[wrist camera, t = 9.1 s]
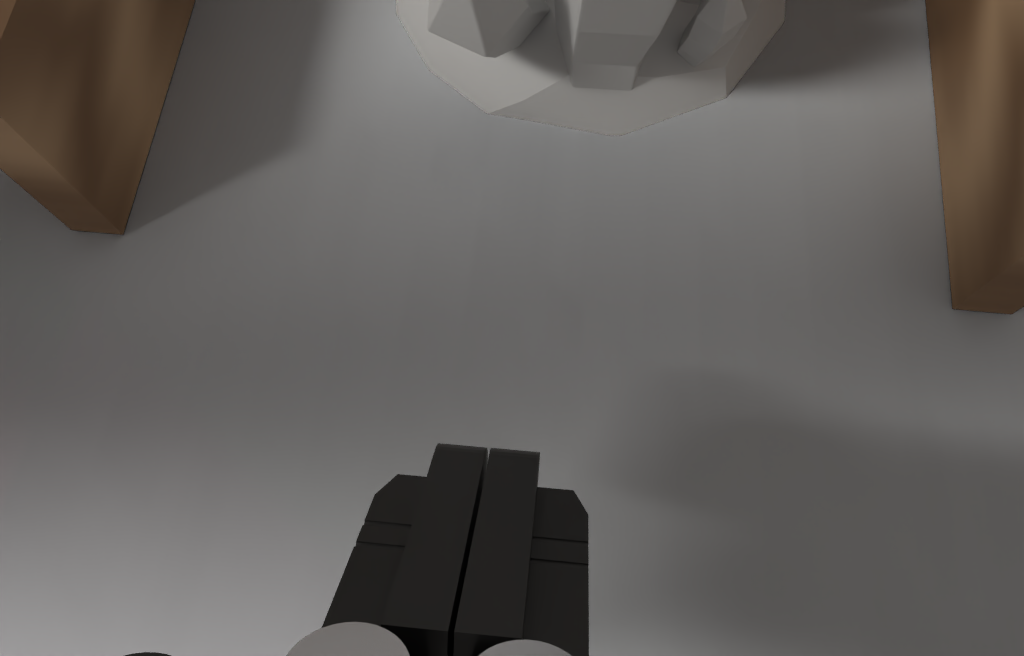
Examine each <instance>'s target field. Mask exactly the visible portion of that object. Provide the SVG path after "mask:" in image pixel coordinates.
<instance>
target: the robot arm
mask: <svg viewBox="0 0 1024 656" xmlns="http://www.w3.org/2000/svg"><path fill="white" fill-rule="evenodd" d="M539 460H540V452H530V451H519V450H508V449H497V448H491V450H490V454H489V459H488V450H487V448H484V447H473V446H462V445H451V444H440V443H438V444H437V446H436V449H435V452H434V455H433V458H432V462H431V465H430V468H429V471H428V474H427V477H421V476H411V475H400V474H398V475H397V476H395V477H394V478H393V479H392V480H391V481H390V482H389V483H388V484H386V485H385V486H384V487H383V488H382V489H381V490H380V491H379V492H377V493H376V494H375V496H374V498H373V501H372V503H371V506H370V508H369V511H368V513H367V516H366V518H365V523H364V525H363V526H362V528H361V531H360V533H359V536H358V538H357V541H356V547H354V548H353V551H352V553H351V556H350V558H349V561H348V563H347V566H346V568H345V571H344V573H343V576H342V578H341V581H340V583H339V586H338V588H337V591H336V593H335V596H334V598H333V601H332V603H331V606H330V608H329V611H328V613H327V616H326V618H325V621H324V623H323V626H322V628H321V629H319V630H316V631H314V632H312V633H311V634H309V635H308V636H306V637H304V638H303V639H302V640H301V641H299V642H298V643H297V644H296V645H295V646H294V647H293V648H292V649H291V650H290V651H289V653H288V654H287V656H589V605H588V514H587V512H586V510H585V509H584V507H583V505H582V504H581V502H580V500H579V499H578V497H577V495H576V494H575V492H574V491H573V490H562V489H551V488H541V487H537V485H538V473H539ZM125 656H170V655H167V654H162V653H150V652H144V653H135V654H130V655H125Z"/></svg>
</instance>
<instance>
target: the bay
mask: <svg viewBox="0 0 1024 656" xmlns="http://www.w3.org/2000/svg"><path fill="white" fill-rule="evenodd" d="M925 2H926V13H927V24H928V36H929V47H930V58H931V70H932V81H933V92H934V103H935V115H936V126H937V137H938V149H939V160H940V171H941V182H942V194H943V205H944V216H945V228H946V239H947V250H948V261H949V273H950V284H951V295H952V307H953V309H959V310H970V311H982V312H993V313H1004V314H1013V313H1014V312H1016V311H1017V310H1019V309H1020V308H1022V307H1024V0H925ZM194 3H195V0H0V169H1V170H2V171H4V172H5V173H6V174H7V175H8V176H9V177H10V178H12V179H13V180H14V181H15V182H16V183H17V184H19V185H20V186H21V187H22V188H23V189H24V190H26V191H27V192H28V193H29V194H30V195H31V196H33V197H34V198H35V199H36V200H37V201H38V202H39V203H41V204H42V205H43V206H44V207H45V208H46V209H48V210H49V211H50V212H51V213H52V214H53V215H55V216H56V217H57V218H58V219H59V220H60V221H62V222H63V223H64V224H65V225H66V226H67V227H68V228H70V229H71V230H77V231H89V232H100V233H111V234H122V235H123V234H124V230H125V227H126V224H127V221H128V217H129V214H130V211H131V208H132V204H133V201H134V198H135V195H136V191H137V188H138V185H139V182H140V178H141V175H142V172H143V169H144V165H145V162H146V159H147V156H148V152H149V149H150V146H151V143H152V139H153V136H154V133H155V130H156V126H157V123H158V120H159V117H160V113H161V110H162V107H163V104H164V100H165V97H166V94H167V91H168V87H169V84H170V81H171V78H172V74H173V71H174V68H175V65H176V61H177V58H178V55H179V52H180V48H181V45H182V42H183V38H184V35H185V32H186V29H187V25H188V22H189V19H190V16H191V12H192V9H193V6H194Z"/></svg>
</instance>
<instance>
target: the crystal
mask: <svg viewBox="0 0 1024 656" xmlns="http://www.w3.org/2000/svg"><path fill="white" fill-rule="evenodd" d="M785 7H786V0H396V15H397V17H398V18H399V20H400V22H401V23H402V25H403V27H404V29H405V30H406V32H407V34H408V35H409V37H410V39H411V41H412V42H413V44H414V46H415V47H416V49H417V51H418V52H419V54H420V56H421V58H422V59H423V61H424V63H425V64H426V66H427V68H428V69H429V71H431V72H432V73H433V74H435V75H436V76H437V77H439V78H440V79H441V80H443V81H444V82H445V83H447V84H448V85H449V86H451V87H452V88H453V89H455V90H456V91H457V92H459V93H460V94H461V95H463V96H464V97H465V98H467V99H468V100H469V101H471V102H472V103H473V104H475V105H476V106H477V107H479V108H480V109H481V110H483V111H484V112H485V113H487V114H491V115H497V116H504V117H510V118H517V119H523V120H529V121H534V122H539V123H545V124H550V125H555V126H561V127H566V128H571V129H577V130H582V131H587V132H593V133H598V134H603V135H609V136H622V135H625V134H627V133H630V132H633V131H636V130H639V129H641V128H644V127H647V126H650V125H652V124H655V123H658V122H661V121H664V120H666V119H669V118H672V117H675V116H677V115H680V114H683V113H686V112H689V111H691V110H694V109H697V108H700V107H702V106H705V105H708V104H711V103H713V102H716V101H719V100H722V99H725V98H727V96H728V95H729V94H730V92H731V91H732V90H733V88H734V87H735V86H736V84H737V83H738V82H739V81H740V79H741V78H742V77H743V75H744V74H745V73H746V71H747V70H748V69H749V68H750V66H751V65H752V64H753V62H754V61H755V60H756V58H757V57H758V56H759V54H760V53H761V52H762V51H763V49H764V48H765V47H766V45H767V44H768V43H769V41H770V40H771V39H772V38H773V36H774V35H775V34H776V32H777V31H778V30H779V28H780V27H781V26H782V24H783V23H784V20H785Z"/></svg>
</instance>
